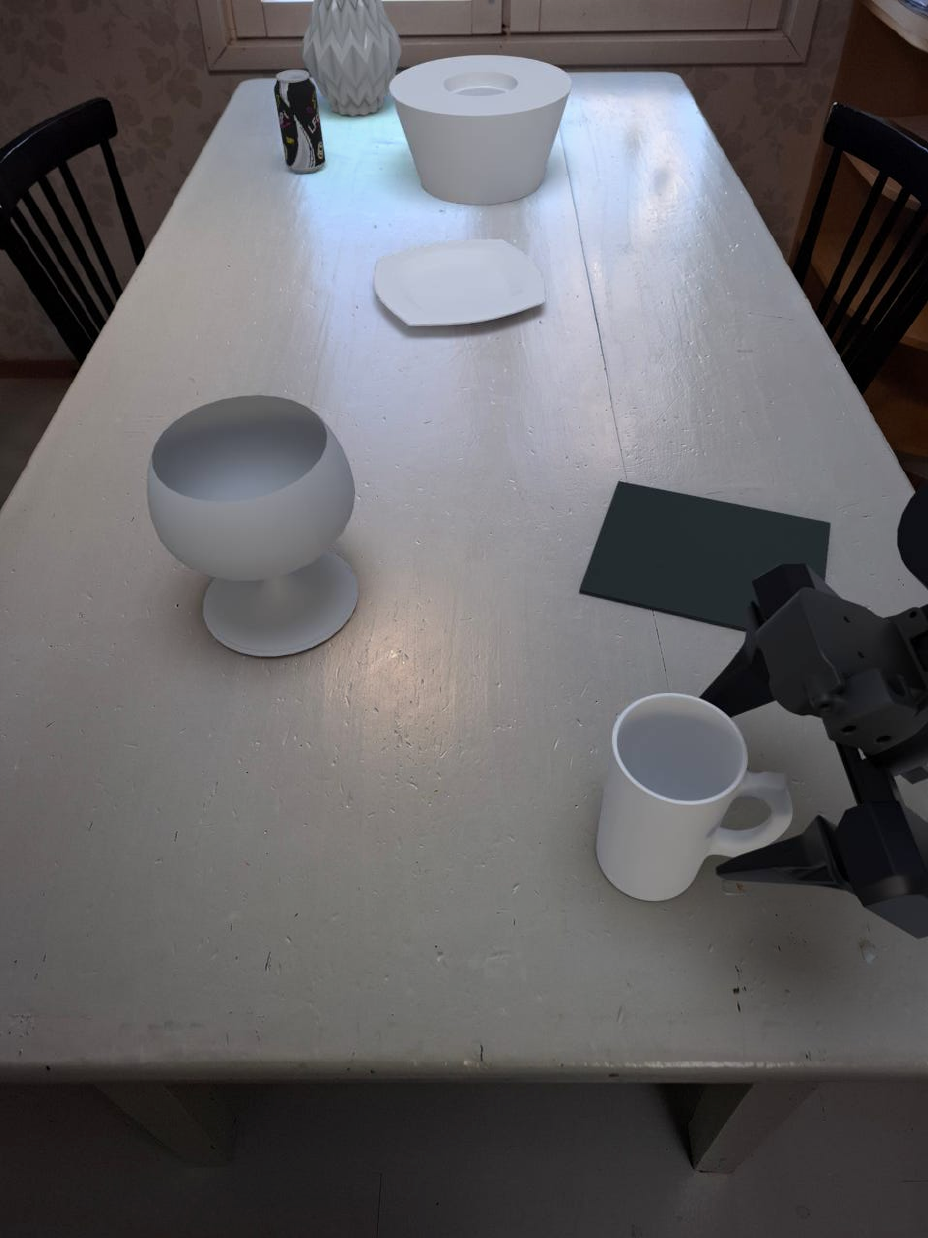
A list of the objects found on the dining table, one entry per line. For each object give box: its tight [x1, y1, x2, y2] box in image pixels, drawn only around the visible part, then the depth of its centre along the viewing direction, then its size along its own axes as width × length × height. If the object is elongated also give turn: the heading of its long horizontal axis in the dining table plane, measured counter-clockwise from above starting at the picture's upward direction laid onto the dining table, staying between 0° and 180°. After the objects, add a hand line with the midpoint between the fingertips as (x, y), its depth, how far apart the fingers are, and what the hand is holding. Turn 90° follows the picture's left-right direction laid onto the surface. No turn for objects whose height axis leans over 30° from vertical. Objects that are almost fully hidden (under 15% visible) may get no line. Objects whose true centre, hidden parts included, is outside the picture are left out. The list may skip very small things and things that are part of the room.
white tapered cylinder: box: [389, 54, 573, 206], centre depth 116 cm, size 24×24×12 cm
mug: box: [595, 692, 794, 902], centre depth 48 cm, size 10×7×12 cm, turn 74°
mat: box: [578, 480, 832, 632], centre depth 69 cm, size 18×14×1 cm
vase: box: [299, 0, 403, 117], centre depth 134 cm, size 16×16×18 cm
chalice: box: [146, 394, 360, 657], centre depth 62 cm, size 14×14×15 cm
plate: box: [373, 238, 547, 327], centre depth 98 cm, size 19×19×2 cm
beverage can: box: [273, 69, 326, 174], centre depth 121 cm, size 6×6×12 cm
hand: (701, 793), depth 46 cm, fingers open, 9 cm apart
